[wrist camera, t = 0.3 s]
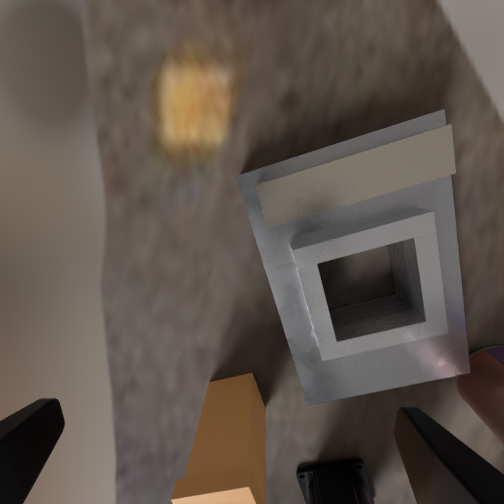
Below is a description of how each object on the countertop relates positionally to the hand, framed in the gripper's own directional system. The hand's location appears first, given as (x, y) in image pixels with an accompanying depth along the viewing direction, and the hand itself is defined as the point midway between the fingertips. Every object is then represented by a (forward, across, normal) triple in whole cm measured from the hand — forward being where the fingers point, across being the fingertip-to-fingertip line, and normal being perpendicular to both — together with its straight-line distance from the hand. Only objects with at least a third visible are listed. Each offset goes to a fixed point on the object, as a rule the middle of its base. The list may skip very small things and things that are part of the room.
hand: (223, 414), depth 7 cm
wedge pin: (+14, +2, +13) cm, 19 cm away
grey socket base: (+14, -8, +1) cm, 16 cm away
